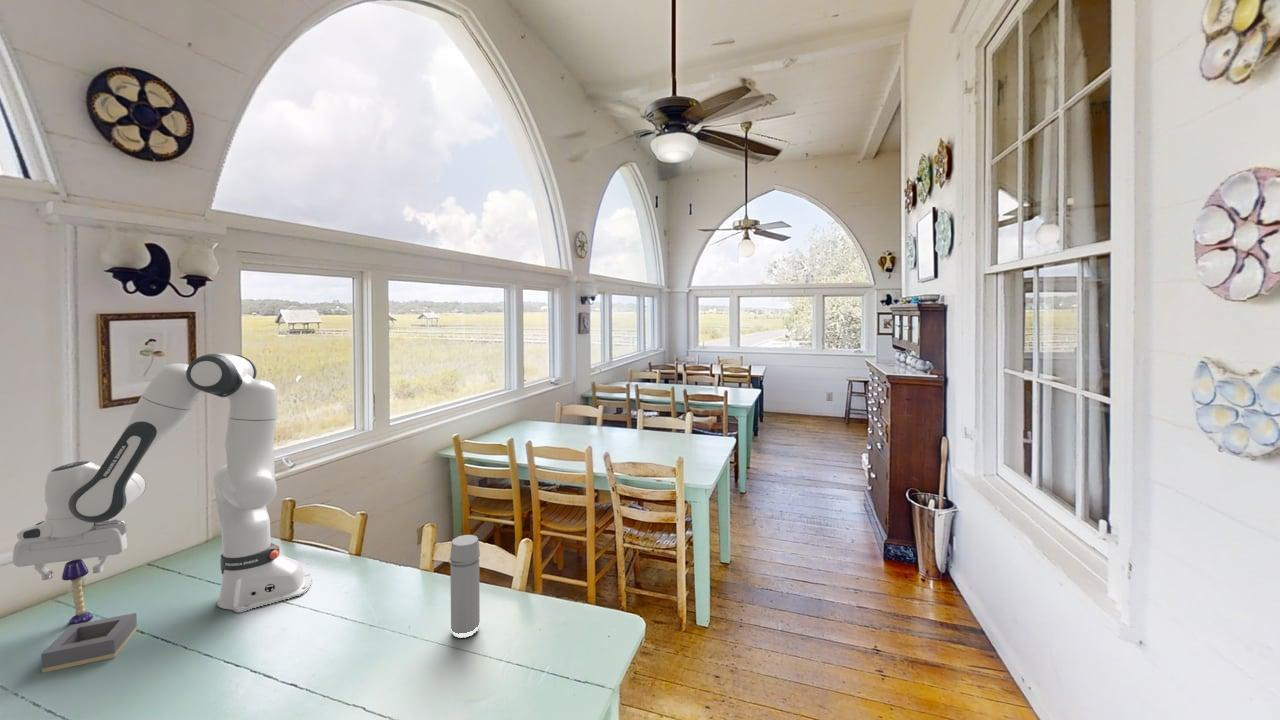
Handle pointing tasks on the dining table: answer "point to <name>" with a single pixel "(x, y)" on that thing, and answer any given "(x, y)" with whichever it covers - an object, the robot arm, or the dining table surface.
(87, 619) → the toy lamp
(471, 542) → the water bottle
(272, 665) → the dining table surface
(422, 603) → the dining table surface
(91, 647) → the socket block
